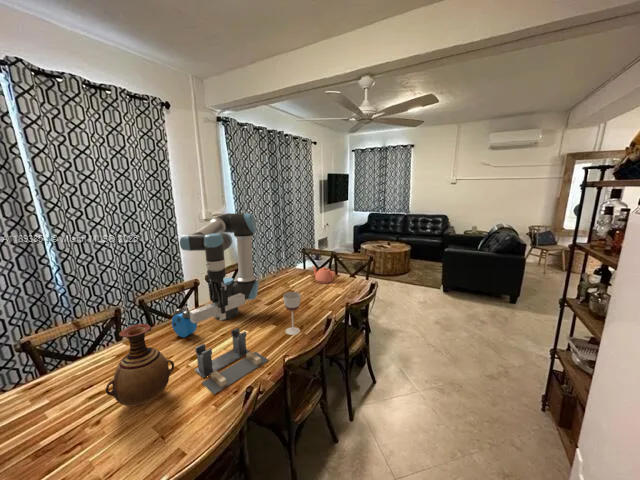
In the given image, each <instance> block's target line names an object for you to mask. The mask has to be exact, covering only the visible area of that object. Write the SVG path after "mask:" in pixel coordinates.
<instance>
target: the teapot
mask: <svg viewBox="0 0 640 480" xmlns="http://www.w3.org/2000/svg"><path fill="white" fill-rule="evenodd" d="M312 268H313V274H314V276H315V281H316V282H318V283H320V284H330V283H331V282H332V281H333V280H334V277H335V276H336V271H334V270H333V271H332V270H331V269H330V268H327V266H324V267H321V268H319V269H318V270H317V268H316V266H314V265H312ZM329 282H330V283H329Z"/></svg>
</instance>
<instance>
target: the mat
mask: <svg viewBox="0 0 640 480" xmlns="http://www.w3.org/2000/svg"><path fill="white" fill-rule="evenodd" d="M253 353H254V354H255V355H257V356H259V357H260V358H261V363H260V364H258V365H255V364H254V363H252V362H251V361H249V360H248V359H246V357H245V356H244V358H241V359H240V360H239V361H236V362H235V363H234V364H232V365H229V366H228V367H227V368H226V367H225V369H222V370H220V371H218V373H219V374H221V375H222V376H223V377H224V378H226V383H227V384H226V385H225V386H223V387H222V388H221V387H220V386H219V385H218V384H217V383H215V382H214V381H213V380H212V379H211V377H209V378H208V379H206V380H205V379H204V381H202V382H201V385H203V387H205V386H206V387H207V388H208V389H209V390H210V391H211V392H212V393H213V394H212V393H211V392H210V391H209V390H208V389H207V388H206V387H205V388H206V389H207V390H208V391H209V392H210V393H211V394H212V395H214V394H215V395H216V393H217V392H218V393H220V392H221V391H223V390H225V389H226V388H228V387H229V386H231V385H233V384H234V383H236V382H237V381H239V380H241V379H242V378H243V377H245V376H246V375H248V374H250V373H252V372H253V371H255V370H256V369H258V368H260V367H261V366H263V365H264V364H266V363H267V362H269V360H270V359H268V358H266V357H265V356H263V355H262V354H261V353H258V352H257V351H254V352H253ZM235 381H236V382H235ZM232 383H233V384H232ZM227 386H228V387H227ZM225 387H226V388H225ZM224 388H225V389H224ZM222 389H223V390H222ZM219 391H220V392H219ZM218 393H217V394H218Z"/></svg>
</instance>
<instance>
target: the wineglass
mask: <svg viewBox="0 0 640 480" xmlns="http://www.w3.org/2000/svg"><path fill="white" fill-rule="evenodd" d="M282 296H283V297H282V298H283V304H284V307H285V308H286V309H287V311H290V312H291V327H288V328H286V329H285V333H286V334H287V335H290V336H294V335H295V336H296V335H298V334H300V332H301V330H300V329H301V328H299V327H295V326H294V311H297V310H298V309H299V307H300V304H301V298H302V297H301V293H300V292H298V291H287V292H285V293H283V295H282Z"/></svg>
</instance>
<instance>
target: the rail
mask: <svg viewBox="0 0 640 480" xmlns="http://www.w3.org/2000/svg"><path fill="white" fill-rule="evenodd" d="M242 305H246V300H245V295H244V294H242V293H239V294H236V295H233V296H231V297H228V305H227V306H225V311H228V310H230V309H233V308H235V307H238V308H239V307H240V306H242ZM218 306H219V301H217V302H214V303H212V302H211V303H209V304H205V305H202V306H200V307H198V308H194V309H192V310H188V311H189V312H190V321H191V322H193V323H194V324H195V323H197V324H198V323H200V322H202V321H205V320H209V319H210V318H214V316H215V315H218V314H219V308H218Z"/></svg>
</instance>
